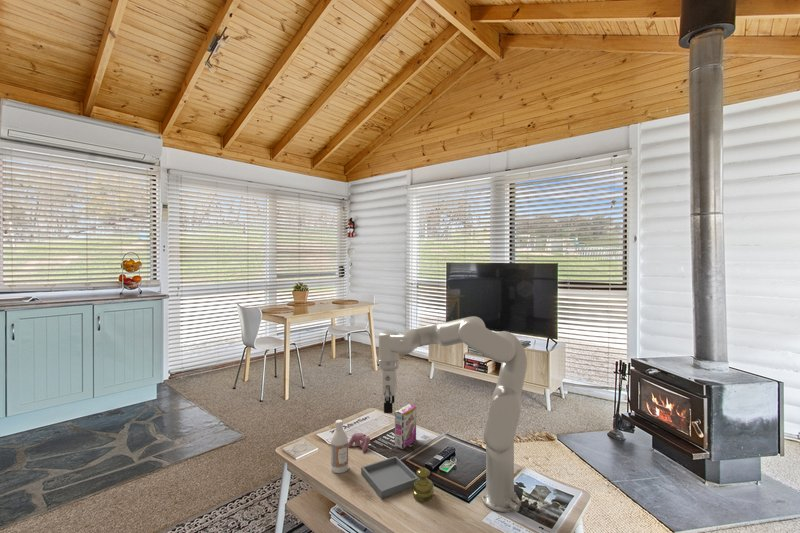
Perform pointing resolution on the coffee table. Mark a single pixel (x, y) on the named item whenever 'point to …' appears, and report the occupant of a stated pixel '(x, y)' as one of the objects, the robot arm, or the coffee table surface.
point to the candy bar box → (405, 426)
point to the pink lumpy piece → (357, 438)
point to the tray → (389, 477)
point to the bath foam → (339, 449)
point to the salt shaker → (423, 486)
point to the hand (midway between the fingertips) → (389, 407)
